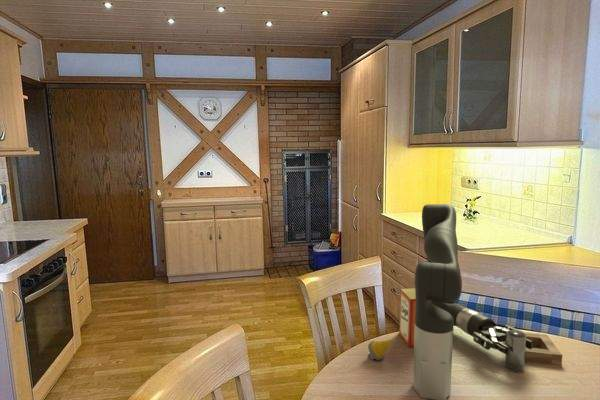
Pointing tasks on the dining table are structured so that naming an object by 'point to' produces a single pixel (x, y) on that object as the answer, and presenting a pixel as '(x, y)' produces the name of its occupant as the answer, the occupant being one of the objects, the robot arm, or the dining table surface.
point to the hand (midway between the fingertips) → (520, 348)
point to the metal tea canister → (515, 351)
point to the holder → (542, 350)
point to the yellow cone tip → (378, 349)
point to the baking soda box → (407, 315)
